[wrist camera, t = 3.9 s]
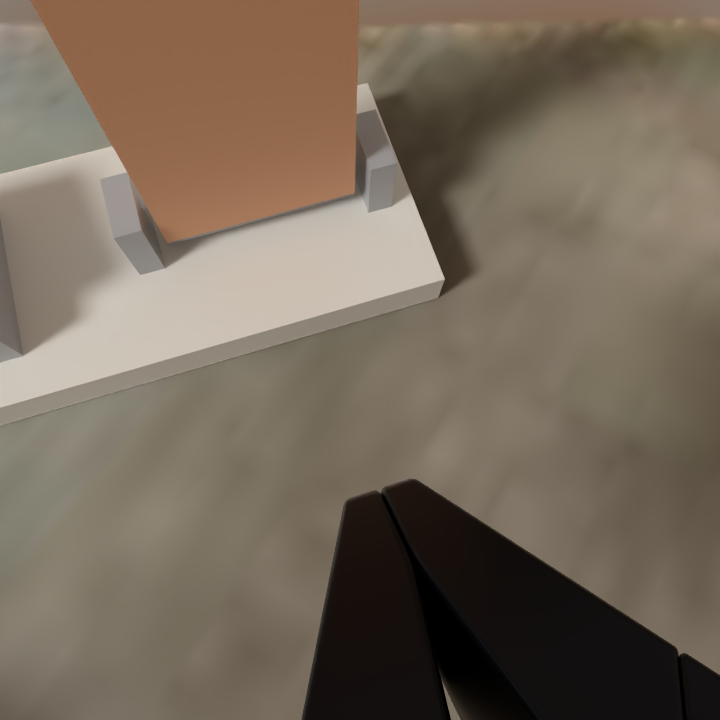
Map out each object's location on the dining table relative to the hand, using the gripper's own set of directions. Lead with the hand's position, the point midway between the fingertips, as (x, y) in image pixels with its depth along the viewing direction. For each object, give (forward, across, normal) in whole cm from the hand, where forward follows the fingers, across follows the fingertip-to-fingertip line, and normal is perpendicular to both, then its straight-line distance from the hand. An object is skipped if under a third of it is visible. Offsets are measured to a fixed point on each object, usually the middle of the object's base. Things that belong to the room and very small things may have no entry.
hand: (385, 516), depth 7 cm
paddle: (+15, 0, -1) cm, 15 cm away
